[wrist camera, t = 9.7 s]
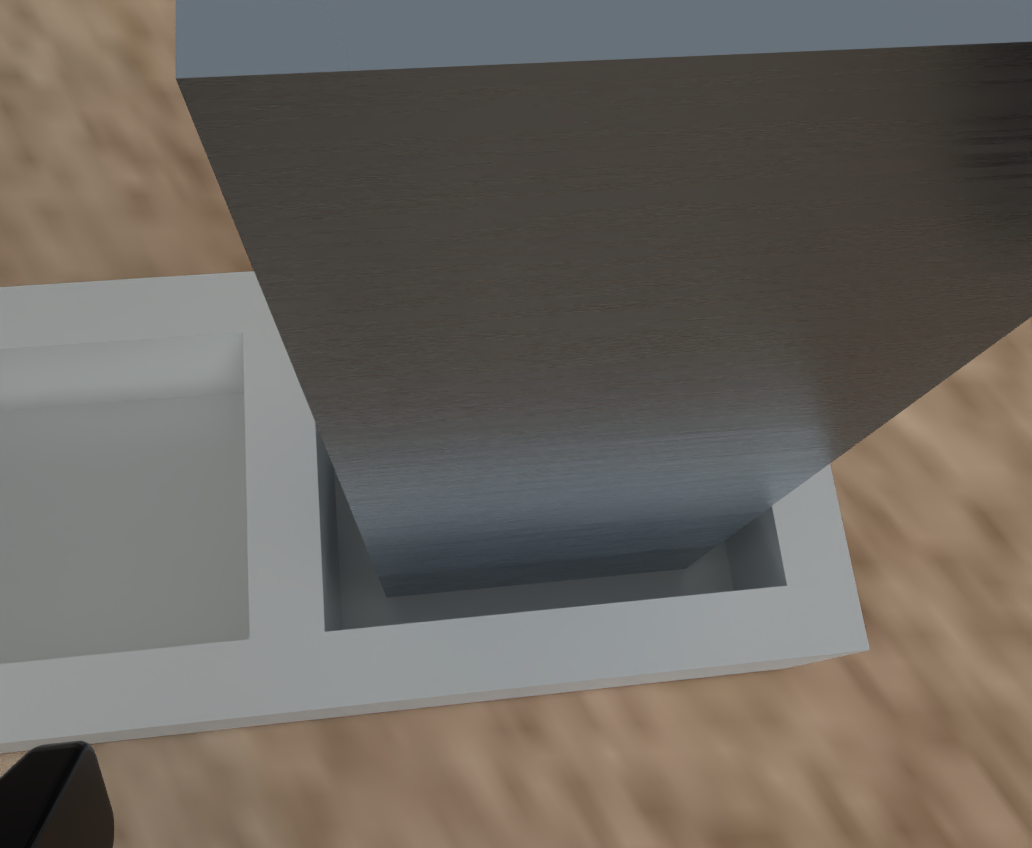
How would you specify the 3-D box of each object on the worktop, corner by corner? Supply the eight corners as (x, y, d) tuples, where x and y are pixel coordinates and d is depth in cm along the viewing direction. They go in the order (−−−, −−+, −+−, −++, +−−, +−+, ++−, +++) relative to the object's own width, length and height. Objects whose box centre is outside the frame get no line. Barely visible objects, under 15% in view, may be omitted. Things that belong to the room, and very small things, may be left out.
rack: (786, 668, 17) (938, 634, 12) (-720, 831, 15) (-1372, 880, 9) (715, 289, 19) (817, 119, 14) (-602, 379, 17) (-1074, 214, 12)
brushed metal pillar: (685, 569, 16) (1433, 21, 4) (386, 598, 16) (175, 77, 3) (658, 401, 17) (1196, -464, 5) (375, 424, 17) (177, -479, 4)
